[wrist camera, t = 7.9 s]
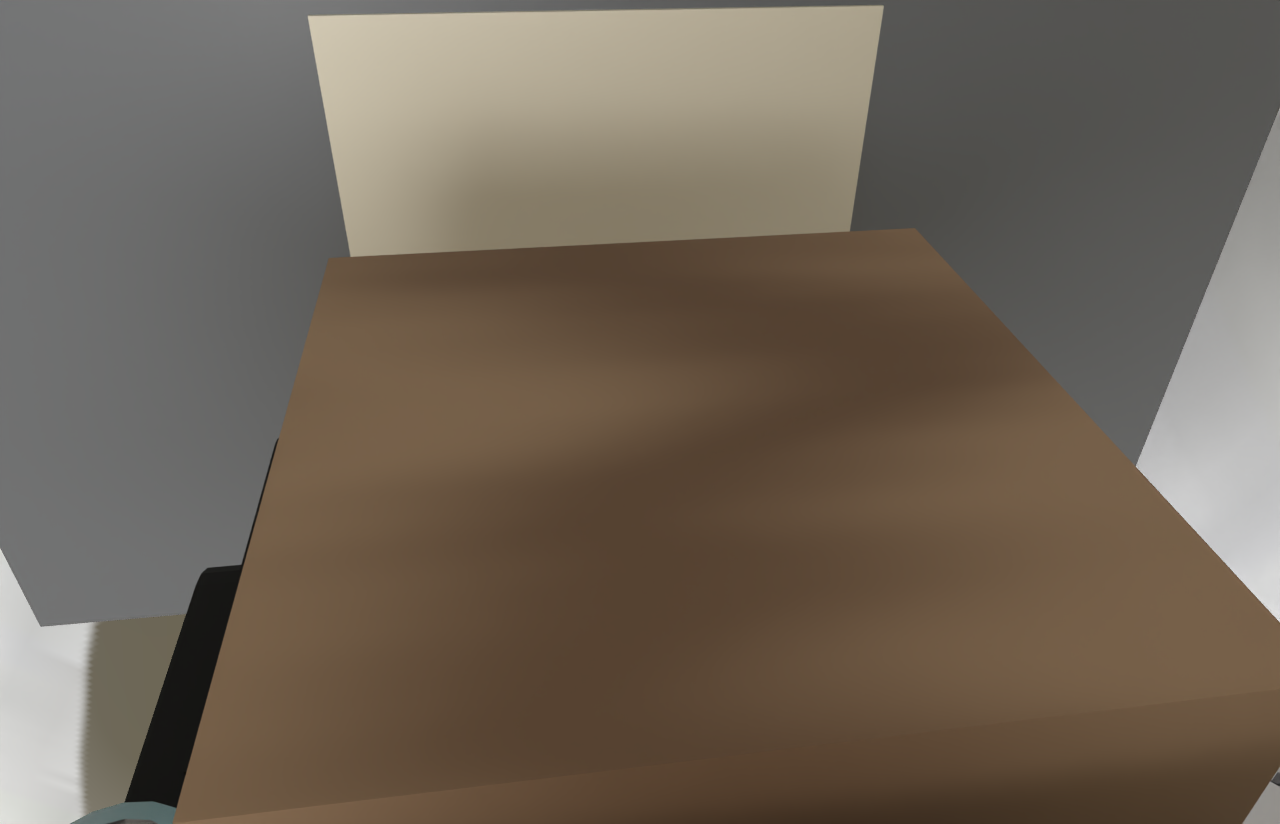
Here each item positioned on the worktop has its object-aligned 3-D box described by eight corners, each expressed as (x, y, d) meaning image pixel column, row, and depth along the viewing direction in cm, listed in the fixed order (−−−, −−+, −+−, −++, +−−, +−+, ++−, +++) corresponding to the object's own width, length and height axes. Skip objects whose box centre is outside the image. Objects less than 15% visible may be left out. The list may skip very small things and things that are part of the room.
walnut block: (914, 228, 10) (1334, 682, 5) (839, 622, 13) (1049, 1117, 9) (329, 257, 9) (172, 824, 4) (407, 667, 13) (368, 1239, 8)
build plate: (1338, -244, 14) (1423, -242, 13) (1074, 489, 22) (1110, 535, 21) (-323, -270, 11) (-424, -270, 10) (68, 571, 19) (39, 629, 18)
